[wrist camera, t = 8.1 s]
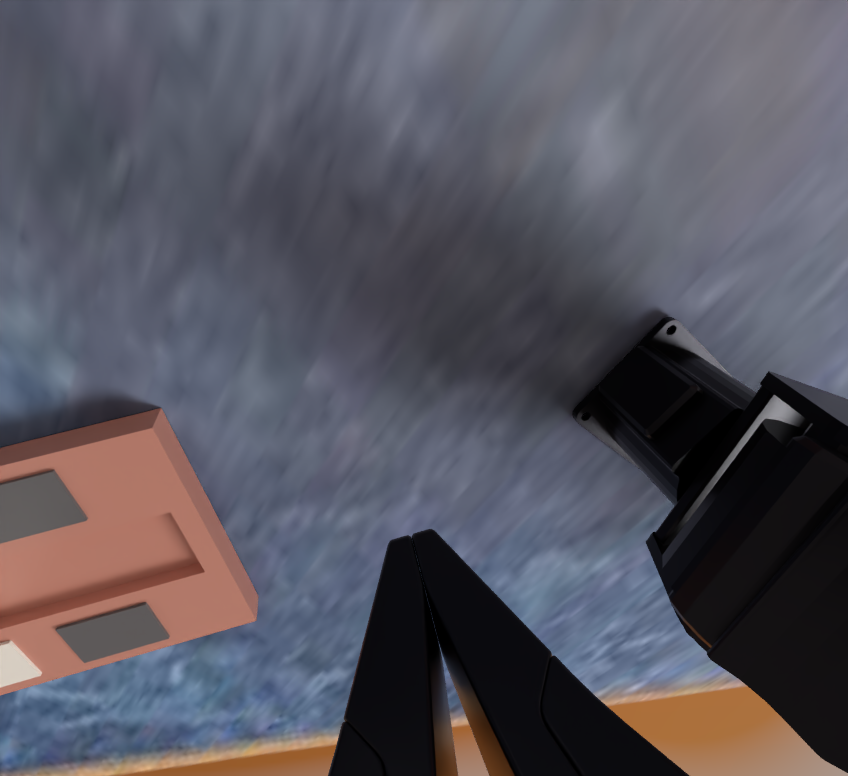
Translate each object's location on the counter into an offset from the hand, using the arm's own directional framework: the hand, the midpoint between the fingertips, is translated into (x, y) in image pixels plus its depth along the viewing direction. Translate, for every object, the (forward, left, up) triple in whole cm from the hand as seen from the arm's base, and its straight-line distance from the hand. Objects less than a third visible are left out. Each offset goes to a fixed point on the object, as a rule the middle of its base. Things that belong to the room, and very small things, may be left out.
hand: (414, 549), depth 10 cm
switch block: (+5, +19, -13) cm, 23 cm away
